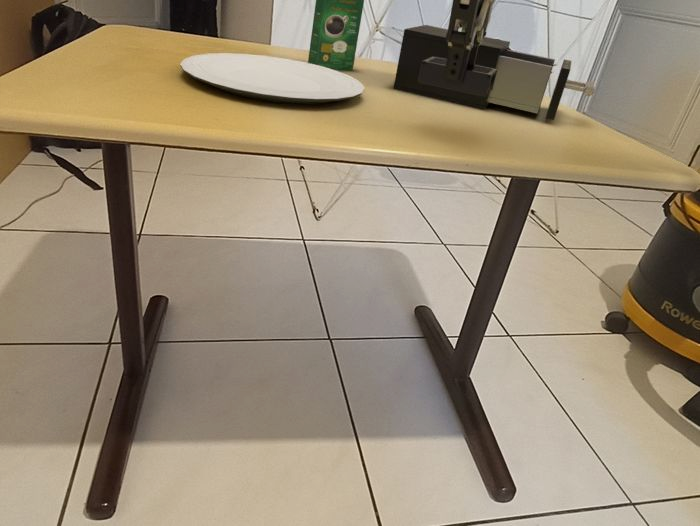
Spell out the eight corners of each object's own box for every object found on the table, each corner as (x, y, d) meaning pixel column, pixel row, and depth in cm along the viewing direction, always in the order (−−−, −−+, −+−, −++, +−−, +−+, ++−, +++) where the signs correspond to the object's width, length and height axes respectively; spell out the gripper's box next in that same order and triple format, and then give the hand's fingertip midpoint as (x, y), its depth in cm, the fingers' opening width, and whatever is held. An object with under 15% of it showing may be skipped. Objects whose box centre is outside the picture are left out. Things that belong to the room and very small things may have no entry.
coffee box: (345, 68, 99) (356, -14, 92) (354, 72, 97) (367, -12, 90) (306, 67, 94) (315, -20, 88) (315, 71, 92) (325, -17, 86)
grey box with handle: (583, 112, 92) (599, 66, 88) (583, 127, 81) (601, 76, 78) (477, 88, 96) (488, 43, 93) (464, 99, 86) (477, 50, 82)
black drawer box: (495, 97, 96) (510, 41, 92) (483, 111, 85) (500, 48, 81) (414, 79, 100) (425, 24, 95) (392, 90, 88) (404, 28, 84)
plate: (385, 119, 71) (388, 105, 70) (180, 102, 64) (180, 85, 63) (339, 75, 92) (340, 63, 91) (180, 58, 84) (180, 45, 83)
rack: (428, 76, 69) (432, 56, 68) (492, 89, 67) (497, 69, 66) (417, 82, 64) (421, 60, 63) (486, 97, 63) (491, 75, 61)
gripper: (526, -92, 50) (479, 96, 59) (536, -76, 63) (496, 79, 71) (445, -103, 52) (411, 82, 60) (471, -85, 64) (439, 67, 73)
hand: (457, 79), depth 65 cm, fingers closed on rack, 5 cm apart
